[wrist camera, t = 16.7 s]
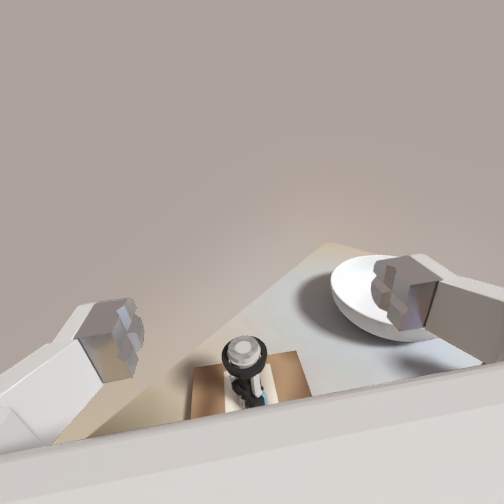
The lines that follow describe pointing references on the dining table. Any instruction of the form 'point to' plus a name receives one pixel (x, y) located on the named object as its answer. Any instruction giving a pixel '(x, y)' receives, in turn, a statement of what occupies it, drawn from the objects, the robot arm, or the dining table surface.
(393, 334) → the serving bowl
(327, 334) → the dining table surface
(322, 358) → the dining table surface
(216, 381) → the brown board with label
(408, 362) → the dining table surface
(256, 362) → the push button
